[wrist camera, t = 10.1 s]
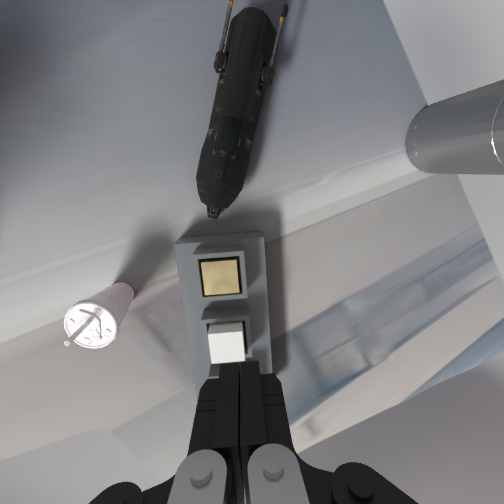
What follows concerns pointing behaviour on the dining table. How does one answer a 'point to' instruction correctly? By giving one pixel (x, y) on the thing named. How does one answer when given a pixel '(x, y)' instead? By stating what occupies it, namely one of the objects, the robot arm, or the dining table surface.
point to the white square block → (226, 342)
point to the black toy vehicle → (236, 105)
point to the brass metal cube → (220, 275)
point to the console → (225, 298)
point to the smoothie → (98, 316)
